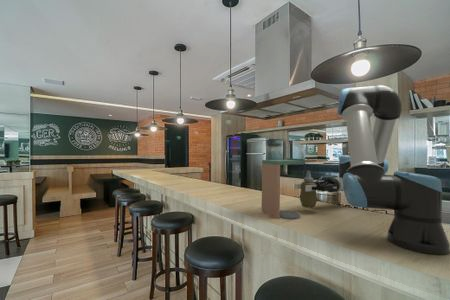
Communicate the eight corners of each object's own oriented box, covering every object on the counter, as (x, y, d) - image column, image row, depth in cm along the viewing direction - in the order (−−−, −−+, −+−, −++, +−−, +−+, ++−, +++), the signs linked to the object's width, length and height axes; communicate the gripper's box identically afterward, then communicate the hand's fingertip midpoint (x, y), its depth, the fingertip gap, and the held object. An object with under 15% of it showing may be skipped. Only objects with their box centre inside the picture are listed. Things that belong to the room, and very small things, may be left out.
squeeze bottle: (318, 209, 104) (318, 171, 104) (300, 208, 105) (301, 171, 105) (315, 205, 112) (315, 170, 112) (298, 204, 113) (299, 169, 113)
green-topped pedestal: (304, 215, 102) (304, 159, 103) (276, 219, 96) (277, 159, 96) (287, 208, 113) (287, 158, 114) (261, 212, 107) (262, 158, 107)
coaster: (306, 217, 99) (306, 216, 99) (285, 220, 94) (285, 219, 94) (288, 210, 110) (288, 209, 110) (268, 213, 105) (268, 212, 105)
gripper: (350, 195, 107) (315, 199, 98) (319, 188, 125) (287, 191, 115) (351, 180, 107) (316, 182, 98) (319, 175, 125) (287, 177, 115)
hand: (300, 187), depth 106 cm, fingers closed on squeeze bottle, 6 cm apart
